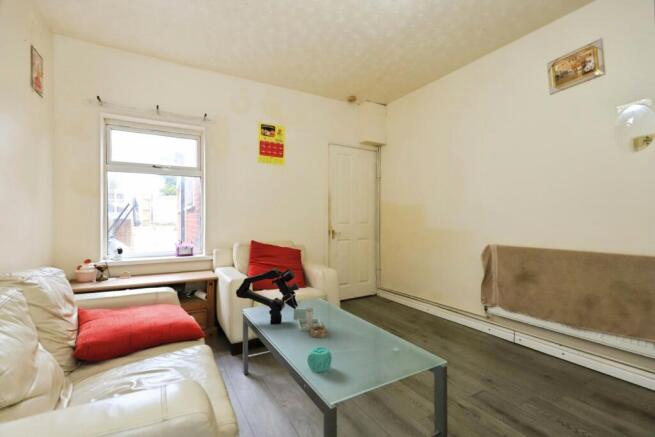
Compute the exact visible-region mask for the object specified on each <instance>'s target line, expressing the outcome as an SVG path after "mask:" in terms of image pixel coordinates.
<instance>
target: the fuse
mask: <svg viewBox="0 0 655 437" xmlns="http://www.w3.org/2000/svg"><path fill="white" fill-rule="evenodd" d="M305 309H306V322H305V327H306V326H314V322H313V317H314V316H313V314H314V308H313V307H312V306H308V307H307V306H306V308H305Z"/></svg>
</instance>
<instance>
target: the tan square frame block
mask: <svg viewBox="0 0 655 437" xmlns="http://www.w3.org/2000/svg"><path fill="white" fill-rule="evenodd" d="M309 333H310V334H309V335H310V336H311V338H321V337H322V338H325V337H328V331H327V329H326V327H325V325H323V324H322V326H319V325H313V326H310V330H309Z"/></svg>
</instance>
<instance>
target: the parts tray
mask: <svg viewBox="0 0 655 437" xmlns="http://www.w3.org/2000/svg"><path fill="white" fill-rule="evenodd" d="M296 323H297V326H298V330H299V332H300V331H301V332H302V331H307V332H308V331H310V326H306V325H305V326H301V324H302V323H305V324H306V319H296ZM313 323H317V324H318V326H323V324H322V323H321V320H320V319H319V318H313Z"/></svg>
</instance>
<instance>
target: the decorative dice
mask: <svg viewBox="0 0 655 437" xmlns="http://www.w3.org/2000/svg"><path fill="white" fill-rule="evenodd" d="M332 359H333V358H332V353H331V351H330V350H329V349H328V348H327V347H324V346H315V347H313V348H311V350H309V352H308V354H307V361H306V362H307V365H308V367H309V369H310V370H311V371H312V370H313V372H314V371H315V372H314V373H318V372H322V373H325V372H327V371H328V370H329V369H330V367H331V365H332Z"/></svg>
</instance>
